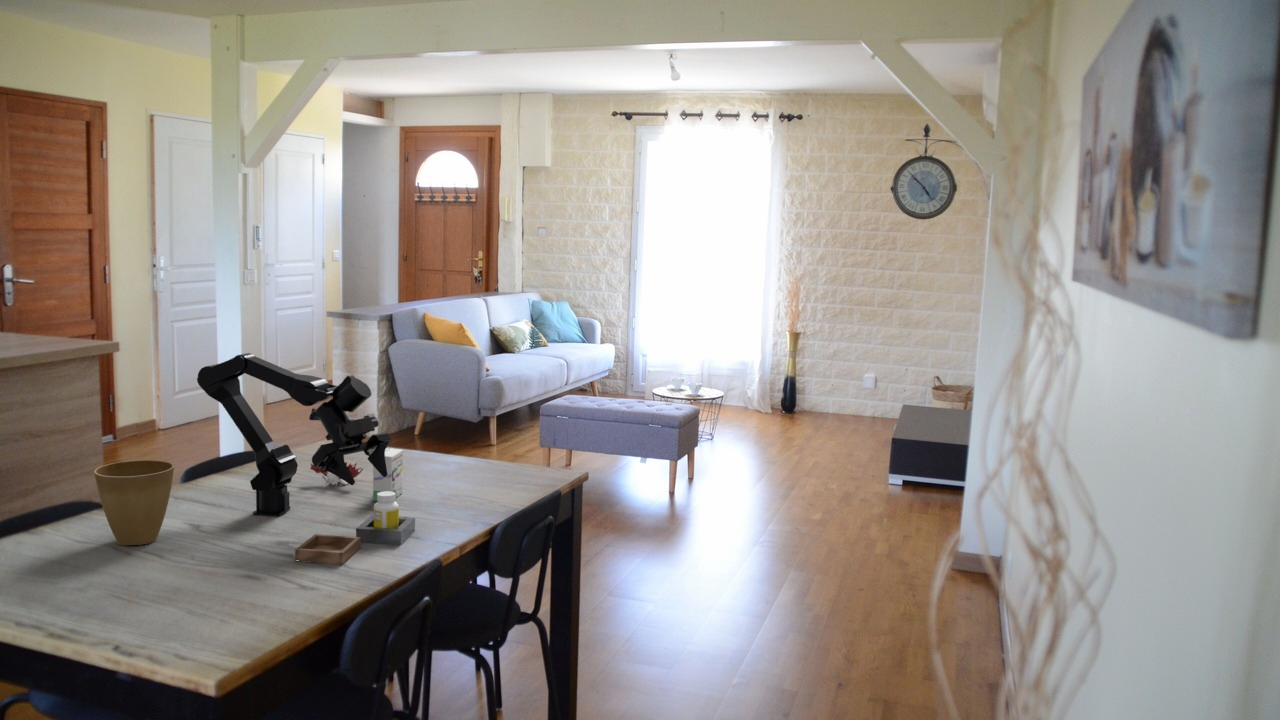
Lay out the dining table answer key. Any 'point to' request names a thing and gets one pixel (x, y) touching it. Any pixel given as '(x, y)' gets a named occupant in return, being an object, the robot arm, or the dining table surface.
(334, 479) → the figurine
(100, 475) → the plant pot
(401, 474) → the ink box
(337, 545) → the walnut tray
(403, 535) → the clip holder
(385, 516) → the supplement bottle
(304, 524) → the dining table surface
